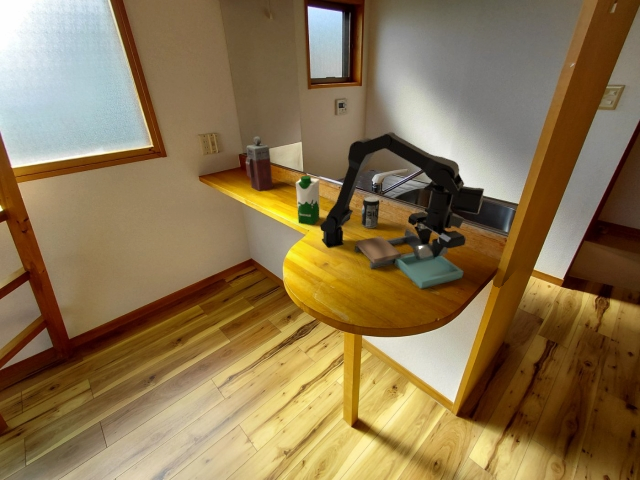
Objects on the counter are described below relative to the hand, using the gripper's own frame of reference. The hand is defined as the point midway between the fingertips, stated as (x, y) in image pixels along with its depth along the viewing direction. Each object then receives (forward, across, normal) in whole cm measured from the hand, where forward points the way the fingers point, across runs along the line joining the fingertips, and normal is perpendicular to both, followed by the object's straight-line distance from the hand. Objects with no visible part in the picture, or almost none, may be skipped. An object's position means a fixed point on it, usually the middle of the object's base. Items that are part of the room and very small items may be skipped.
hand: (430, 253), depth 92 cm
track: (+7, +13, +6) cm, 16 cm away
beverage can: (+7, +36, +1) cm, 37 cm away
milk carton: (+7, +50, +23) cm, 56 cm away
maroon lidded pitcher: (+7, +102, +35) cm, 108 cm away
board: (+7, +13, +10) cm, 18 cm away
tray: (+7, 0, 0) cm, 7 cm away
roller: (-1, 0, 0) cm, 1 cm away
